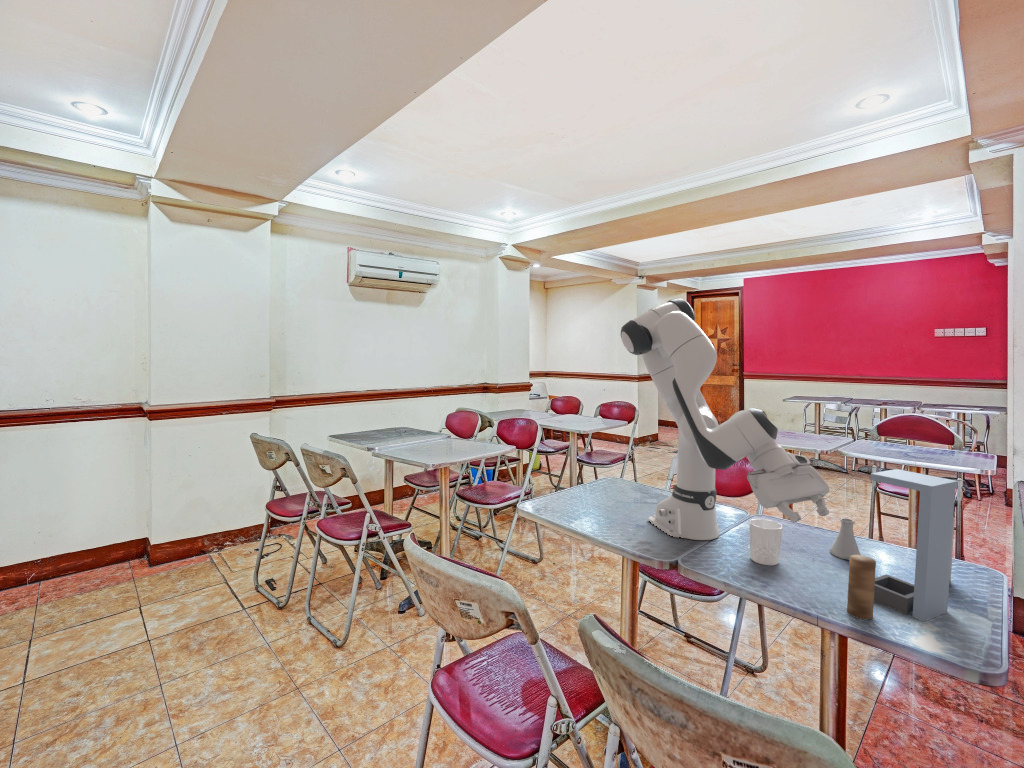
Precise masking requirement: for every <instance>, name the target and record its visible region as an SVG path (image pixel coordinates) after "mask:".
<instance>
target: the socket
mask: <svg viewBox="0 0 1024 768" xmlns="http://www.w3.org/2000/svg"><path fill="white" fill-rule="evenodd" d="M914 584H915V583H914ZM914 584H913V583H911V582H907V581H906V580H903V579H900V578H897V577H895V576H892V575H889V574H887V573H886V574H883V575H880V576H877V577H875V588H874V602H876V603H879V604H881V605H883V606H886V607H888V608H890V609H892V610H895V611H897V612H900V613H902V614H904V615H910V614H911V613H912V614H913V600H914Z"/></svg>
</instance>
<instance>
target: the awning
mask: <svg viewBox="0 0 1024 768" xmlns="http://www.w3.org/2000/svg"><path fill="white" fill-rule="evenodd" d="M870 481H874V482H879V483H882V484H887V485H891V486H897V487H901V488H904V489H905V488H906V489H908V490H914V491H918V492H919V499H918V500H919V501H918V502H919V504H918V505H919V506H918V516H917V517H918V519H917V520H918V522H917V534H916V535H917V538H916V551H915V552H916V554H915V566H914V567H915V572H914V600H913V612H912V617H913V618H915V619H917V620H919V621H922V622H926V621H929V620H931V619H933V618H935V617H938V616H941V615H943V614H946V613H948V606H949V605H948V604H949V591H950V584H949V578H950V562H951V547H952V531H953V516H954V513H955V512H954V503H955V501H956V500H955V498H956V497H955V496H956V489H958V488H959V480H954V479H950V478H945V477H940V476H933V475H929V474H924V473H919V472H914V471H909V470H903V469H898V468H895V469H894V468H893V469H890V470H883V471H878V472H877V471H876V472H872V473H870Z"/></svg>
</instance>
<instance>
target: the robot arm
mask: <svg viewBox="0 0 1024 768" xmlns="http://www.w3.org/2000/svg"><path fill="white" fill-rule="evenodd" d="M620 338H621V342H622V344H623V346H624V347H625V349H626V350H627V351H628V352H629V353H630V354H632V355H634V356H639V355H641V357H642V359H643V361H644V364H645V367H646V370H647V372H648V373H649V376H650V377H651V379H652V381H653V383H654V386H655V387H656V389H657V391H658V393H659V394H660V397H661V399H662V401H663V402H664V404H665V405H666V407H667V409H668V411H669V412H670V414H671V417H672V418H673V419H674V422H675V424H676V425H677V429H678V433H677V435H678V436H677V437H678V438H677V440H678V441H677V454H676V455H677V459H676V484H673V485H672V484H671V485H670V488H669V489H670V490H672V493H671V495H669V496H667V497H666V498H664V499H663V500H661V501H660V502H658V504H657V505H656V509H655V514H652V515H650V516H649V517H648V518H647V521H648V522H649V521H650V522H651V523H650V522H649V523H650V524H651V525H653V524H654V525H653V526H655V527H656V526H657V527H656V528H658V529H659V530H660V529H661V532H663V531H664V532H663V533H665V534H666V533H667V535H668V536H669V535H670V536H669V537H671V536H673V537H672V538H679V537H681V539H682V538H683V539H689V540H694V541H710V540H715V539H717V538H719V537H720V532H719V525H718V521H717V508H716V502H717V488H716V470H724V471H725V470H727V469H730V468H731V467H732V466H734V465H735V464H736V463H737V462H738V461H741V460H742V459H744V458H747V460H748V461H749V464H750V467H751V468H752V469H753V470H751V471H749V472H748V474H747V475H746V479H747V481H748V482H749V485H750V488H751V491H752V492H753V494H754V496H755V498H756V499H757V502H759V505H761V507H763V508H764V509H771V508H777V510H778V511H779V512H780V513H782V515H784V516H785V517H787V518H788V519H789V521H790V522H791V523H793V524H794V523H798V522H799V521H801V520H802V516H801V515H800V513H799V512H798V511H794V510H793V509H792V508H790V506H789V505H792V504H797V503H803V502H807V501H812V503H813V504H815V506H816V507H817V509H816V513H817V514H818V516H819V517H826V516H827V515H829V514H830V510H829V509H828V508H827V506H826V503H825V498H824V496H826V495H828V494H829V493H830V487H829V485H828V483H827V482H826V480H825V479H824V478H823V476H822V475H821V473H819V472H818V470H817V469H816V468H815V467H813V466H811V465H810V464H811V461H810V459H809V458H808V457H807V456H805V455H804V456H803V455H800V454H795V453H792V452H787V450H785V449H784V447H783V446H782V445H780V444H779V443H778V442H777V436H778V431H779V430H778V429H779V428H777V426H776V425H775V424H774V423H772V422H771V420H770V419H769V417H768V416H767V414H766V412H765V411H764V410H763V409H758V408H755V407H753V408H752V407H749V408H747V409H743V410H739V411H737V412H735V413H733V414H732V415H731V416H730V417H729V418H728V420H725V421H724V422H722V423H720V424H719V422H718V420H717V418H716V417H715V415H714V413H713V412H712V411H711V409H710V407H709V405H708V403H707V401H706V399H705V397H704V395H703V393H702V392H701V387H702V386H703V384H704V383H705V382H706V381H707V379H708V378H709V377H710V376H711V374H712V372H713V371H714V369H715V367H716V364H717V360H718V354H717V353H718V352H717V350H716V348H715V346H714V345H713V343H712V341H711V340H710V338H709V337H708V335H706V333H705V332H704V330H703V329H702V328H701V327H700V326H699V325H698V324H697V323H696V315H695V312H694V309H693V307H692V306H691V305H690V303H689V302H688V301H686V300H685V299H683V298H674V299H670V300H668V301H666V302H665V303H662V304H659V305H657V306H654V307H652V308H650V309H648V310H647V311H645V312H644V313H642V314H640V315H639V316H637V317H635V318H633V319H630V320H629V321H627V322H626V323H625V324H623V325H622V326H621V329H620Z"/></svg>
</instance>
